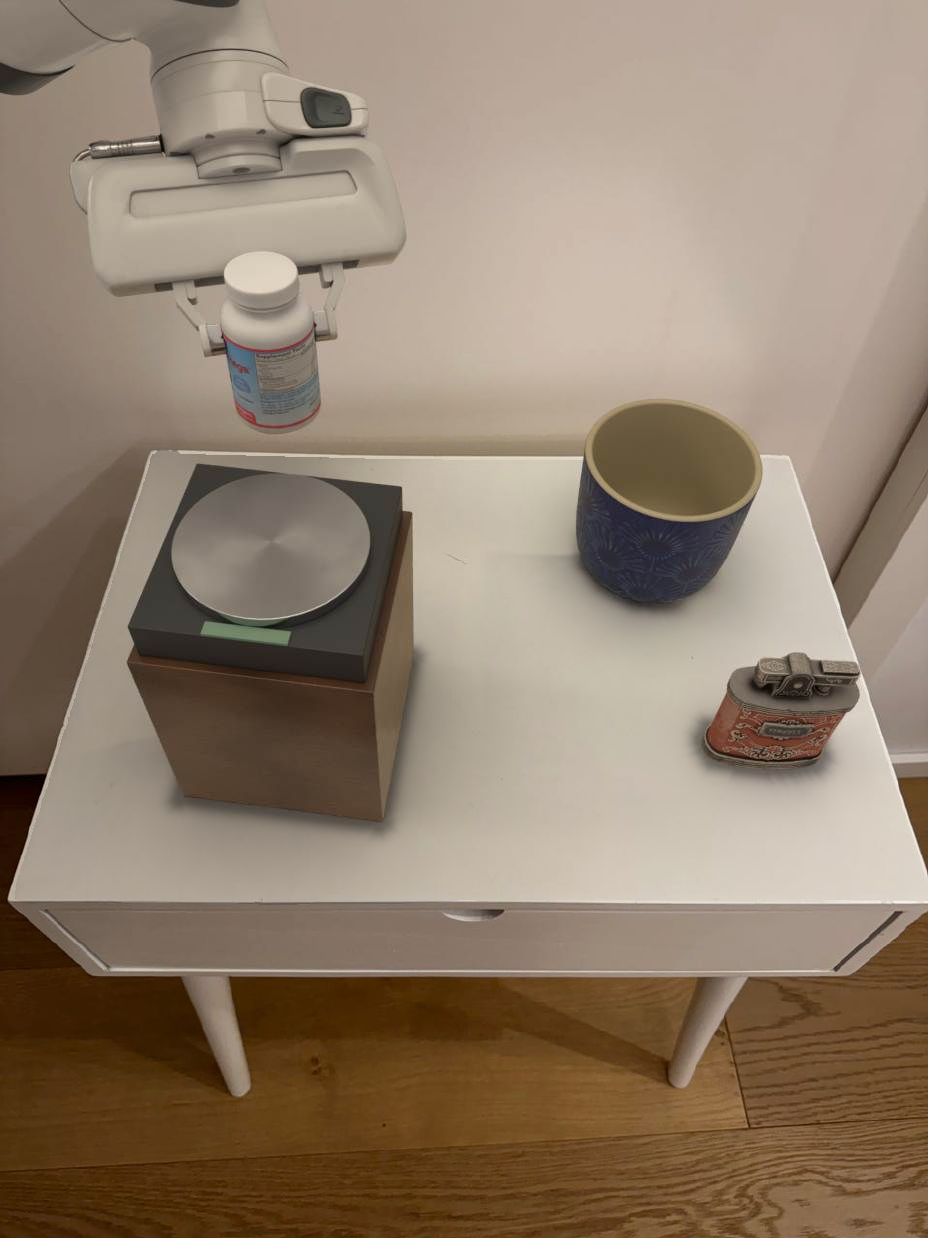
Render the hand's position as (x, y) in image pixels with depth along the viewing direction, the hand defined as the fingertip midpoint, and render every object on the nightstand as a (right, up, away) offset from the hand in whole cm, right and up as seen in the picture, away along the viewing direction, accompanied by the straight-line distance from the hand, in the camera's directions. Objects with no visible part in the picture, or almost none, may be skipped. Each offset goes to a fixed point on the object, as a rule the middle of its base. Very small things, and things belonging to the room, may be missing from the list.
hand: (272, 347), depth 64 cm
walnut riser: (+2, -25, +1) cm, 25 cm away
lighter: (+33, -27, +1) cm, 43 cm away
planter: (+27, -14, +11) cm, 32 cm away
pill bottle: (-1, -3, +5) cm, 6 cm away
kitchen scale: (+3, -16, -11) cm, 20 cm away
